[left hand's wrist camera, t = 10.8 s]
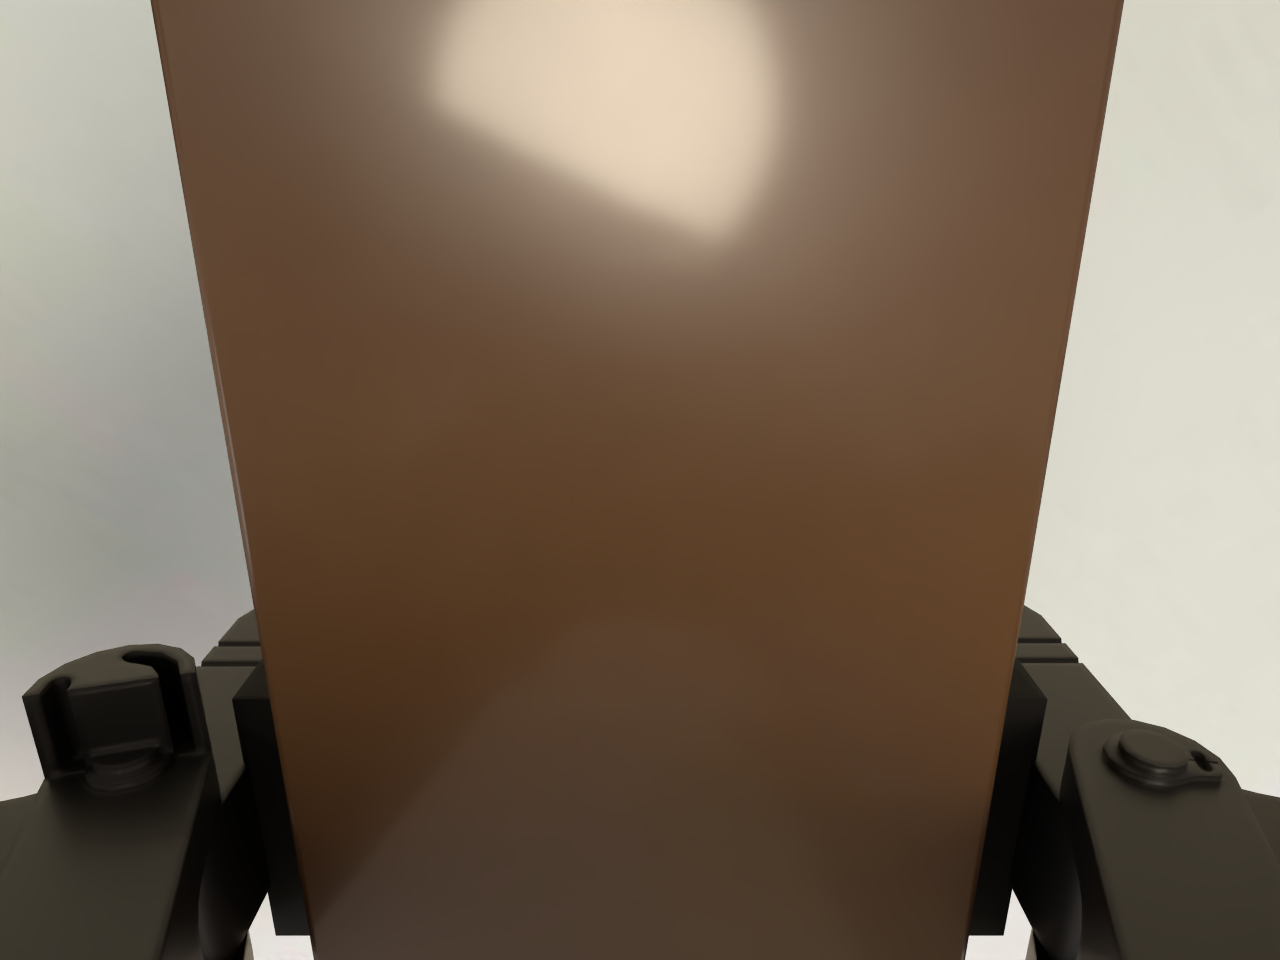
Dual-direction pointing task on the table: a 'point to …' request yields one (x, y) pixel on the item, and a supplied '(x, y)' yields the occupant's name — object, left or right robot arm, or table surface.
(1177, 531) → the table surface
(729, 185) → the post
